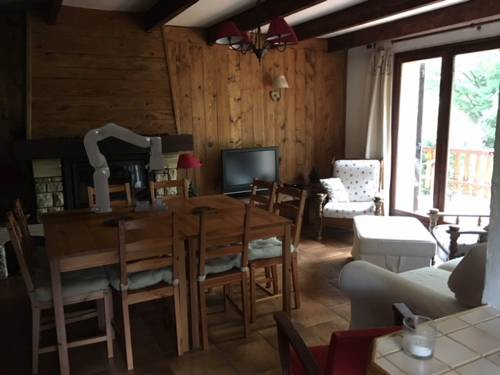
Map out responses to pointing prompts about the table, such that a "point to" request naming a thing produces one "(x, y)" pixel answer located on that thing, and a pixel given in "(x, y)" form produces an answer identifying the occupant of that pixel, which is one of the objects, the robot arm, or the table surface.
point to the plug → (159, 200)
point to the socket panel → (145, 207)
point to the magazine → (144, 195)
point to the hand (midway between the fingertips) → (157, 176)
